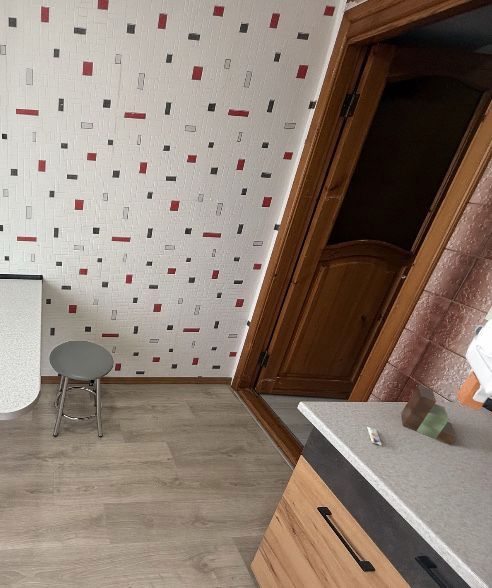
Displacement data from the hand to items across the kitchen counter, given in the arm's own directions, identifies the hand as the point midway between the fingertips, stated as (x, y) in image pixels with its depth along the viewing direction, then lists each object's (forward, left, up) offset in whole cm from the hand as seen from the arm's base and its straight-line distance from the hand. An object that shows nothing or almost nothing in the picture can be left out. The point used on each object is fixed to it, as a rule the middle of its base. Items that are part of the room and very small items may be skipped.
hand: (473, 393), depth 78 cm
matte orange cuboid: (0, 0, -3) cm, 3 cm away
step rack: (0, -13, -21) cm, 24 cm away
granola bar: (+12, +3, -21) cm, 24 cm away
